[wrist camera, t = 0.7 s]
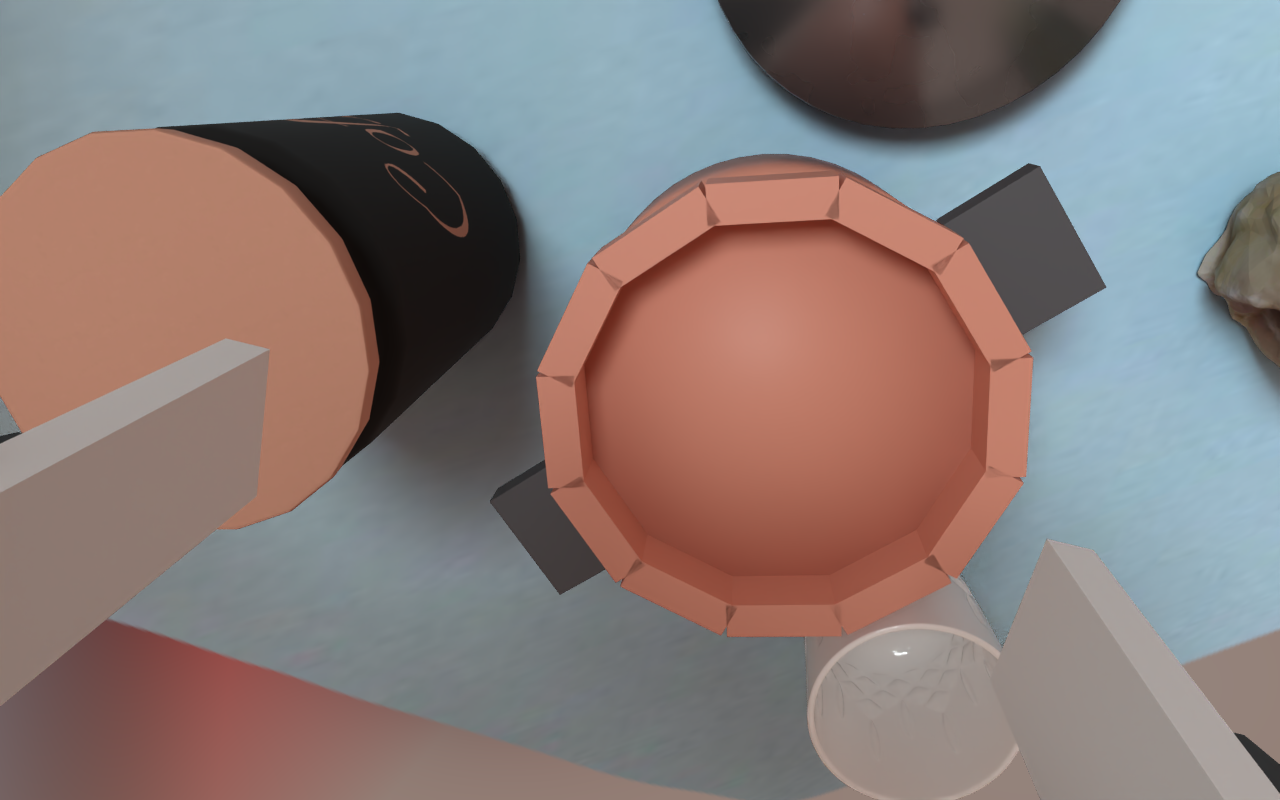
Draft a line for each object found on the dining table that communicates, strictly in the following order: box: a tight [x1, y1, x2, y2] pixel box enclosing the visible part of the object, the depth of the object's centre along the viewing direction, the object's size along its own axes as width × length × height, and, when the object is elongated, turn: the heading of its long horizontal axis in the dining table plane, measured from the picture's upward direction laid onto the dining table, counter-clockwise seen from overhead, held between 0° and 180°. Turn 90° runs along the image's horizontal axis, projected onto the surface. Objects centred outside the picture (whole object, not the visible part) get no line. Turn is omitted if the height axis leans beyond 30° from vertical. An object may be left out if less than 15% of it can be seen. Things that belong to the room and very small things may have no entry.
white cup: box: [805, 575, 1019, 800], centre depth 39 cm, size 8×8×10 cm
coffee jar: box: [0, 113, 520, 529], centre depth 32 cm, size 11×11×18 cm
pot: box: [490, 154, 1106, 637], centre depth 35 cm, size 21×15×12 cm
